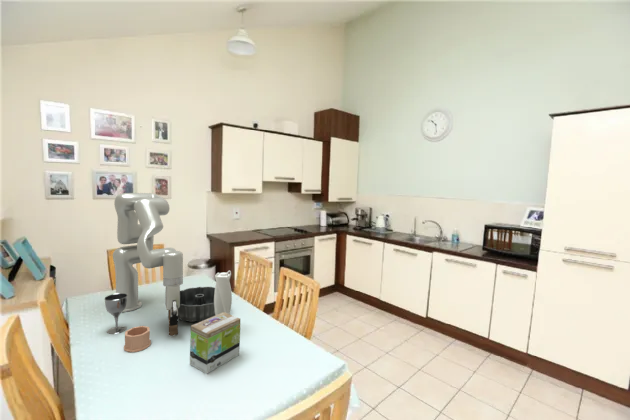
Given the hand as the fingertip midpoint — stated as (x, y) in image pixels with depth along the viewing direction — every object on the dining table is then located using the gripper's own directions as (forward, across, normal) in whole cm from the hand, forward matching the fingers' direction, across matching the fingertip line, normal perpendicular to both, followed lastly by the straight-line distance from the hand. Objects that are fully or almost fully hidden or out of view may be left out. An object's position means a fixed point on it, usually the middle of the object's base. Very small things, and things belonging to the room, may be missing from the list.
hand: (173, 321), depth 125 cm
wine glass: (+6, -14, -21) cm, 26 cm away
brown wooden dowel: (+6, 0, 0) cm, 6 cm away
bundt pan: (+6, -15, +13) cm, 21 cm away
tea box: (+6, +27, +12) cm, 30 cm away
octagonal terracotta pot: (+6, +4, -13) cm, 15 cm away
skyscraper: (+6, +8, +19) cm, 21 cm away
